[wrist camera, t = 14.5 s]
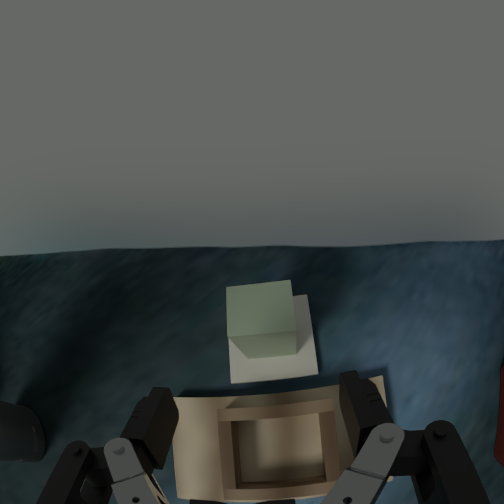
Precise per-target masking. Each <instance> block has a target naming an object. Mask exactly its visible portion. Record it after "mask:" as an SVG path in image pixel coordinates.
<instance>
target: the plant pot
mask: <svg viewBox="0 0 504 504" xmlns="http://www.w3.org/2000/svg"><path fill="white" fill-rule="evenodd" d="M494 457H495V458H496V459H497V461H498V462H499V463H500V464H501V465H502V466H503V467H504V363H503V365H502V367H501V372H500V405H499V418H498V428H497V436H496V443H495V450H494Z"/></svg>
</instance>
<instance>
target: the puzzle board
mask: <svg viewBox="0 0 504 504" xmlns="http://www.w3.org/2000/svg"><path fill="white" fill-rule="evenodd" d="M368 379H370V380H371V381H372V382H373V383H375V384H376V386H377V388H378V390H379V393H380V394H381V397H382V400H383V401H384V403H385V405H386V407H387V404H386V397H385V389H384V383H383V376H382V375H381V376H377V377H373V378H368ZM173 398H174V401H175V403H176V405H177V408H178V411H179V421H178V424H177V427H176V430H175V433H174V436H173V453H174V466H175V477H176V487H177V496H178V498H181V499H196V500H210V501H218V502H265V501H270V500H284V499H294V498H295V500H296V499H305V498H313V497H320V496H326V495H327V494H328V493H329V491H330V490H331V489H332V487H333V486H334V484H335V483H336V482H337V480H338V479H339V477H340V476H341V474H342V473H343V472H344V470H345V469H346V468H349V467H350V466H351V465H352V463H353V462H354V456H353V452H352V448H351V445H350V441H349V437H348V434H347V430H346V426H345V423H344V419H343V416H342V412H341V409H340V403H339V384H338V385H332V386H326V387H320V388H313V389H307V390H299V391H291V392H283V393H273V394H262V395H249V396H233V397H200V398H183V397H173ZM392 480H393V476H390V477H389V479H388V480H387V482H388V481H392Z"/></svg>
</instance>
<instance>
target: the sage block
mask: <svg viewBox="0 0 504 504" xmlns="http://www.w3.org/2000/svg"><path fill="white" fill-rule="evenodd" d="M226 301H227V336H228V338H229V339H230V340H231V341H232V342H233V343H234V344H235V345H236V347H237V348H238V349H239V350H240V351H241V352H242V353H243V354H244V355H245V356H246V357H247V358H248V359H258V358H269V357H279V356H288V355H296V336H297V329H296V321H295V312H294V304H293V296H292V288H291V280H285V281H277V282H268V283H259V284H250V285H241V286H232V287H226Z"/></svg>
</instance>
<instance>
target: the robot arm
mask: <svg viewBox="0 0 504 504" xmlns="http://www.w3.org/2000/svg"><path fill="white" fill-rule="evenodd" d="M339 403H340V409H341V412H342V416H343V419H344V423H345V426H346V430H347V434H348V437H349V441H350V445H351V448H352V452H353V456H354V462H353V463H352V465H351V466H350V467H349V468H346V469H345V470H344V472H343V473H342V474H341V476H340V477H339V479H338V480H337V482H336V483H335V484H334V486H333V487H332V489H331V490H330V491H329V493H328V494H327V495H326V497H325V498H324V499H323V501H322V502H321V503H320V504H375V502H376V501H377V499H378V497H379V495H380V494H381V492H382V490H383V488H384V486H385V484H386V482H387V480H388V479H389V477H390V476H408V475H410V476H411V479H412V482H413V486H414V489H415V493H416V496H417V500H418V503H419V504H490V502H489V499H488V497H487V494H486V492H485V489H484V487H483V485H482V483H481V480H480V478H479V476H478V474H477V471H476V469H475V467H474V465H473V463H472V461H471V459H470V456H469V454H468V452H467V450H466V448H465V446H464V444H463V442H462V440H461V438H460V436H459V434H458V433H457V431H456V429H455V427H454V425H453V424H451V423H450V422H448V421H444V420H438V421H434V422H432V423H430V424H429V425H428V426H427V427H426V429H425V430H416V431H407V430H403V429H402V428H401V427H400V426H398V425H396V424H394V422H393V420H392V418H391V416H390V414H389V412H388V409H387V407H386V405H385V403H384V401H383V400H382V397H381V394H380V393H379V390H378V388H377V386H376V384H375V383H373V382H372V381H371V380H370V379H363V380H360V378H359V376H358V373H357V371H356V370H354V371H349V372H344V373H340V377H339ZM178 421H179V411H178V408H177V405H176V403H175V401H174V398H173V396H172V393H171V391H170V389H169V388H166V387H153V388H152V390H151V392H150V394H149V396H148V397H143V398H142V399H141V400H140V401H139V402H138V403H137V405H136V407H135V409H134V412H132V414H131V418H129V420H128V422H127V424H126V426H125V428H124V430H123V432H122V434H121V436H120V438H115V439H112V440H110V441H109V442H108V443H107V444H106V445H105V447H100V448H90V447H89V446H88V445H87V444H86V443H85V442H83V441H74V442H72V443H70V444H69V445H67V447H66V448H65V450H64V452H63V453H62V455H61V457H60V459H59V461H58V463H57V464H56V466H55V468H54V470H53V472H52V474H51V476H50V477H49V479H48V481H47V483H46V485H45V487H44V489H43V491H42V493H41V495H40V497H39V499H38V501H37V503H36V504H108V503H109V500H110V497H111V494H112V491H113V492H114V494H115V497H116V500H117V502H118V504H170V503H169V502H168V500H167V499H166V497H165V495H164V494H163V492H162V490H161V488H160V487H159V485H158V483H157V481H156V479H155V477H154V476H153V474H152V473H153V470H154V469H160V470H163V467H164V463H165V460H166V457H167V454H168V451H169V448H170V445H171V442H172V439H173V436H174V433H175V430H176V427H177V424H178ZM44 452H45V435H44V431H43V428H42V425H41V423H40V421H39V419H38V417H37V415H36V414H35V413H34V412H33V411H32V410H31V409H30V408H28V407H25V406H21V405H16V404H12V403H8V402H4V401H0V461H10V462H38V461H40V460H41V458H42V457H43V455H44ZM84 479H86V481H85V483H84V485H83V488H82V490H81V492H80V488H81V486H82V484H83V481H84ZM189 504H226V503H222V502H218V501H210V500H196V499H190V503H189ZM256 504H295V498H294V499H284V500H270V501H265V502H260V503H256Z"/></svg>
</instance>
